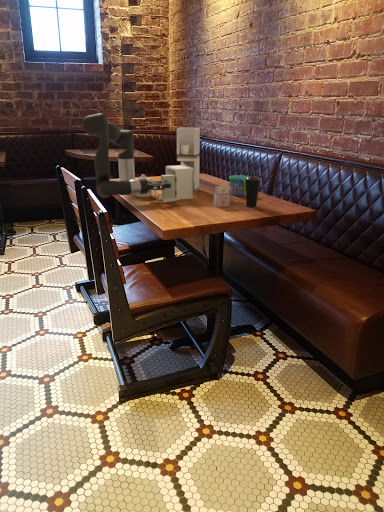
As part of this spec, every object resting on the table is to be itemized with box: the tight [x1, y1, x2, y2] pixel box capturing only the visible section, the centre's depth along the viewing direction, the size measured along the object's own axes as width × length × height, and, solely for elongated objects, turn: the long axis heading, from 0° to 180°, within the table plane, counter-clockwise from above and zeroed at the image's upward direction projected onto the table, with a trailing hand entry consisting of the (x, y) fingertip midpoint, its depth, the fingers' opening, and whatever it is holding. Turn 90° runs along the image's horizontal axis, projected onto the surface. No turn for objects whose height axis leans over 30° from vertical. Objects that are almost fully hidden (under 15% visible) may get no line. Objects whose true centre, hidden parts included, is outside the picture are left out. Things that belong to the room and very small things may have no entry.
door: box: [160, 174, 175, 202], centre depth 209 cm, size 5×6×13 cm
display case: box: [176, 127, 201, 194], centre depth 229 cm, size 11×11×35 cm
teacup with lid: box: [135, 174, 153, 198], centre depth 221 cm, size 12×9×12 cm
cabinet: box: [158, 164, 194, 203], centre depth 214 cm, size 15×18×16 cm
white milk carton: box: [213, 185, 230, 208], centre depth 198 cm, size 4×7×10 cm, turn 108°
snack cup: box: [228, 174, 249, 196], centre depth 224 cm, size 16×10×10 cm
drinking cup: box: [245, 165, 261, 208], centre depth 197 cm, size 8×8×20 cm
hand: (167, 184), depth 208 cm, fingers open, 8 cm apart
